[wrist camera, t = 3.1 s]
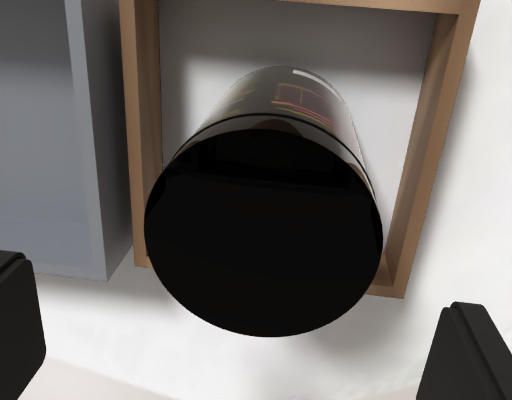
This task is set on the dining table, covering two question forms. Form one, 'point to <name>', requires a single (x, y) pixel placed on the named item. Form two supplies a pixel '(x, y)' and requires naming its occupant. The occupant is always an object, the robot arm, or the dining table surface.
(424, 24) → the dining table surface
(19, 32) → the bin
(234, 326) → the supplement container
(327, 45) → the dining table surface
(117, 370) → the dining table surface
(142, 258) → the frame
